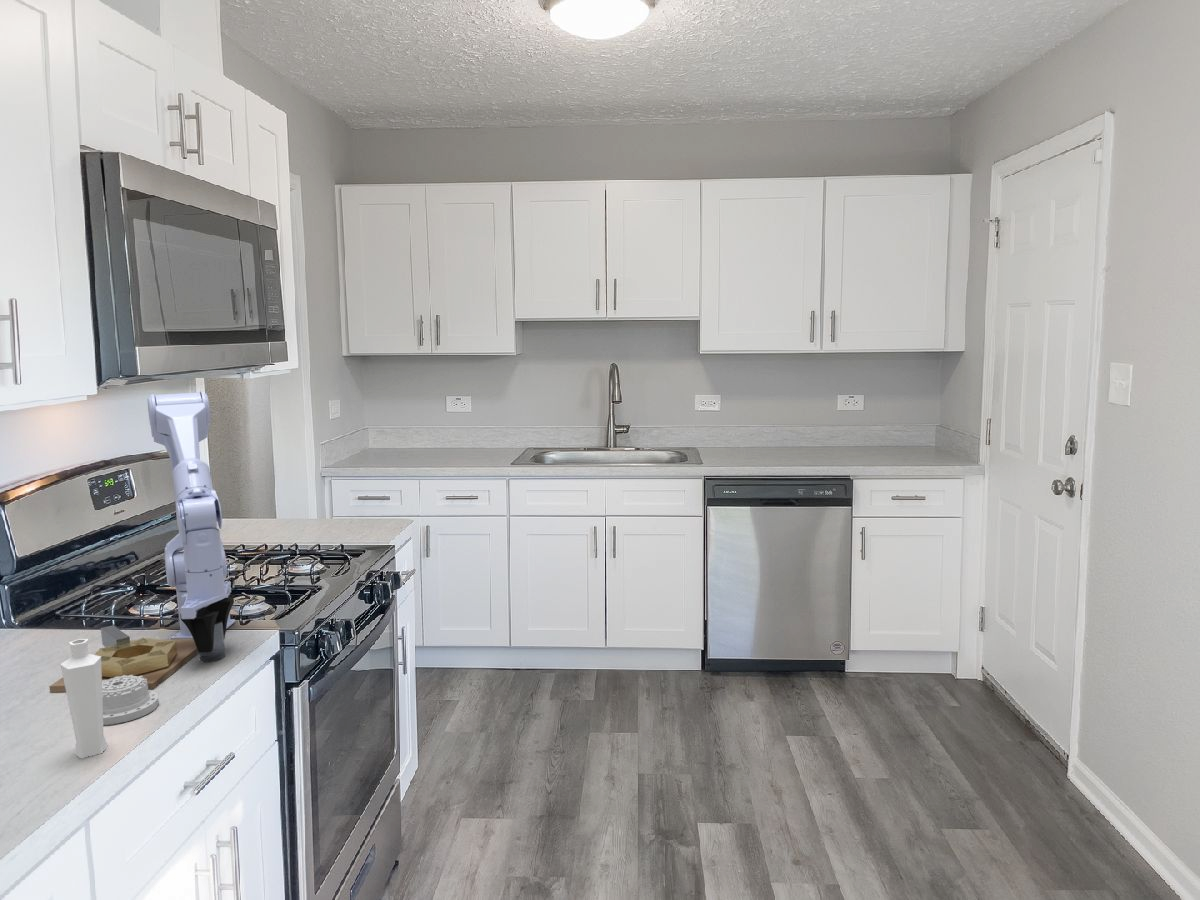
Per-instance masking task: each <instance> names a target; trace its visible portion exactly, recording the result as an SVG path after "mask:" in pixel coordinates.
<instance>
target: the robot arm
mask: <svg viewBox="0 0 1200 900" xmlns="http://www.w3.org/2000/svg"><path fill="white" fill-rule="evenodd" d="M209 401H210V400H209V397H208V394H207V393H206V392H205V391H203V390H202V391H199V392H183V393H182V392H181V393H167V394H166V393H163V394H154V393H152V394H149V396H148V397H147V412H148V421H149V426H150V432H151V437H152V438H153V442H154V443H157V444H159V445H163V446H164V447H165V450H166V452H167V455H168V457H169V461H170V470H171V477H172V485H173V486H172V487H173V494H174V495H173V496H174V502H175V515H176V522H177V523H176V525H177V528H178V533H177V534H176V535H175V536H174V537H173V538H171V539H170V540H169V541H168V542H167V543H166V544H165V547H164V567H165V574H166V575H165V576H166V581H167V586H169V587H171V588H175V590H176V600H177V601H176V602H177V609H178V612H177V613H178V622H179V628H180V629H179V631H177V632H176V633H174V635H172V636H171V637H170V639H194V642H195V644H196V647H197V649H198V652H199V653H203V652H212V650H213V645H214V626H215V622H216V620H221V621H222V624H223V635H224V640H225V639H226V631H227V629H228V628H230V627H231V626H232V625H233V624H234V623H236V619H235V618H232V619H231V614H230V613H231V610H232V607H233V605H234V604H235V600H234V599H235V598H234V597H230V596H229V594H231V593H232V587H231V585H232V584H231V581H225V579H226V577H227V576H228V566H227V558H226V552H225V549H224V545H223V540H222V539H221V535H220V534H221V533H220V530H221V529H222V525H223V513H222V506H221V502H220V500H219V497H218V495H217V491H216V490H215V489H214V485H213V481H212V475H211V471H210V470H211V469H210V466H209V465H208V463H206V462H204V461H202V460H201V451H200V442H201V441H204V440H205V439H207V438H208V433H209V431H210V429H209V428H210V422H211V411H210V410H211V409H210V402H209ZM217 526H218V527H219V528H218V527H217ZM219 529H220V530H219ZM199 653H198V654H199Z"/></svg>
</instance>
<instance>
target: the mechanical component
mask: <svg viewBox="0 0 1200 900" xmlns="http://www.w3.org/2000/svg"><path fill="white" fill-rule="evenodd" d="M102 703H103V726H107V725H108V726H109V725H115V724H121V723H127V722H129V721H133V720H138V718H139V719H140V718H142V717H144V716H146V715H148V714H150V713H152V712H153V711H154V710H156V709H157V708H158V706H159V705H160V704H159V703H160V702H159V695H158V693H157V692H156V691H153V690H151V689H150V690H148V684H147V679H145V678H143V676H139V677H138V676H133V675H129V676H126V675H123V676H121V677H120V676H117V677H115V678H111V679H108V680H102Z"/></svg>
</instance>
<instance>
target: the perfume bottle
mask: <svg viewBox="0 0 1200 900" xmlns="http://www.w3.org/2000/svg"><path fill="white" fill-rule="evenodd" d="M88 641H89V639H88V638H79V639H75V640H72V641H69V642H68V644H69V645H70V653H71V657H69V658H68V659H66V660H65V661H63V662H61V663H60V667H61V673H62V678H63V679H64V684H65V689H66V692H65V694H66V698H67V702H68V707H69V712H70V716H71V723H72V729H73V732H74V737H75V747H74V755H76V756H77V757H78V758H80V759H85V758H88V756H89V757H93V756H98V755H101V753H102V754H103V753H104V752H105V750H107V748H108V746H109V744H108V742H107V739H106V738H105V735H104V725H103V703H102V671H101V656H96V655H95V654H91V653H89V647H88V645H89V644H88ZM103 751H104V752H103ZM97 754H98V755H97ZM92 755H93V756H92ZM84 757H85V758H84Z"/></svg>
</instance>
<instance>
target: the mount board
mask: <svg viewBox="0 0 1200 900" xmlns="http://www.w3.org/2000/svg"><path fill="white" fill-rule="evenodd" d="M133 640H134V639H133ZM133 640H130V641H133ZM163 640H175V641H176V644H177V653H176V655H175V656H174V658H173V660H172V661H171V663H170V664H169V666H168V667H164V668H160V669H157V670H153V671H149V672H145V673H142V674H138V675H134V676H138V677H139V676H143V678H145V679H147V684H148V690H150V691H151V690H155V688H157V687H159V686H160V685H161V684H162V683H163V682H164V681H166V680H167V679H168V678H170V677H171V676H172V675H173V674H174V673H175V671H176V672H177V671H178V670H179V669H181V668H182V667H183V666H185V665H186V664H187V663H188V662H190V660H192V659H193V658H194V657H195V656H196V654H197V653H198V649H197V647H196V644H195V642H194V639H171V638H168V639H164V638H163ZM198 654H199V653H198ZM198 654H197V655H198ZM191 658H192V659H191ZM111 678H112V677H102V680H108V679H111ZM165 679H166V680H165ZM159 684H160V685H159ZM49 693H66V689H65V684H64V679H63V677H61V678H60V679H59V680H57V681H55V682H54V683H52V684H51V685H49Z"/></svg>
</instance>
